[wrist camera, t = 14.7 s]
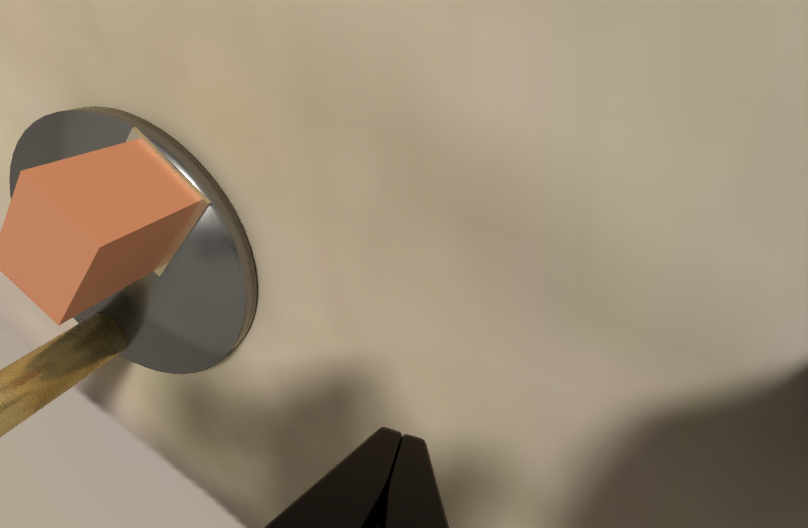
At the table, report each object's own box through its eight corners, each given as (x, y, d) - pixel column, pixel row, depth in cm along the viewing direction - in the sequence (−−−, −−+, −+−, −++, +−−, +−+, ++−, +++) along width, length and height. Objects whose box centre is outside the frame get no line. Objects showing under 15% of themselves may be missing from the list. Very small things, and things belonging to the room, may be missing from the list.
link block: (199, 200, 21) (99, 247, 17) (153, 271, 24) (58, 325, 20) (138, 139, 21) (20, 170, 17) (98, 218, 24) (-9, 262, 20)
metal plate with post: (299, 356, 25) (118, 558, 16) (118, 365, 31) (-89, 514, 22) (174, 66, 20) (-195, 113, 11) (-11, 145, 27) (-348, 217, 17)
